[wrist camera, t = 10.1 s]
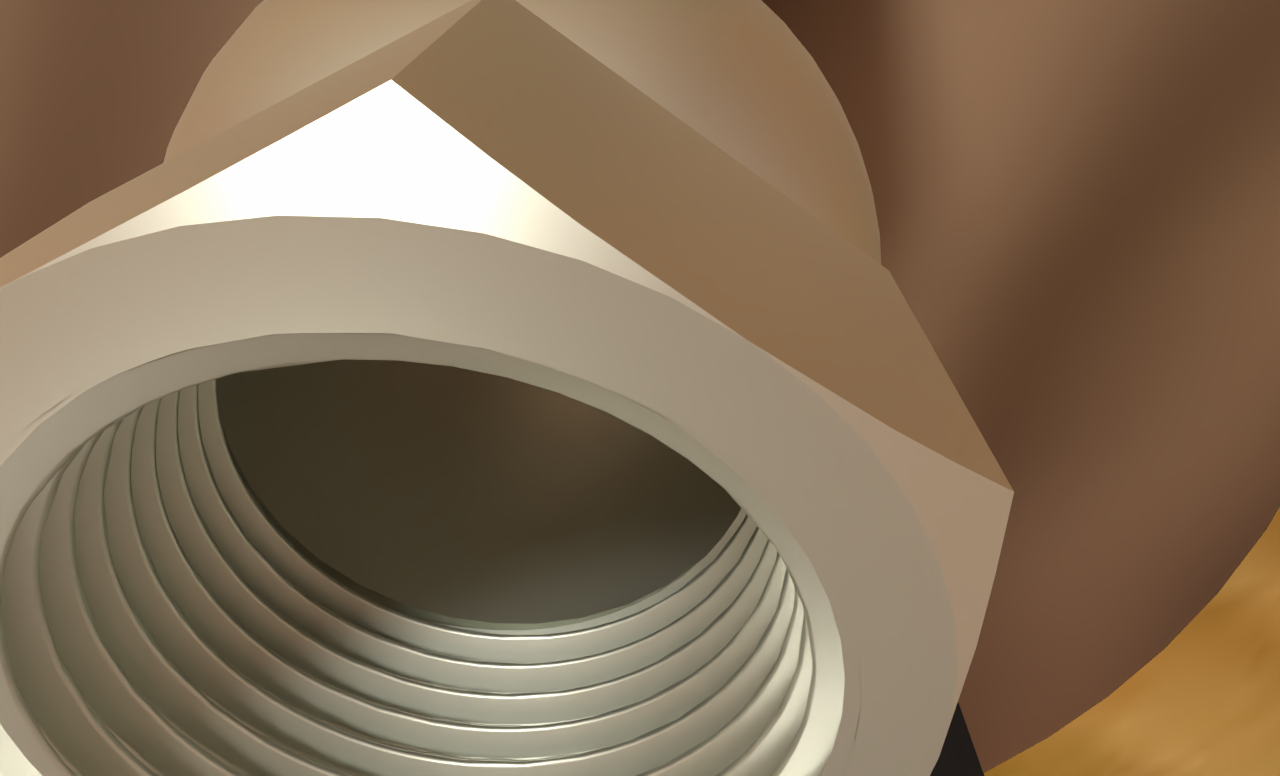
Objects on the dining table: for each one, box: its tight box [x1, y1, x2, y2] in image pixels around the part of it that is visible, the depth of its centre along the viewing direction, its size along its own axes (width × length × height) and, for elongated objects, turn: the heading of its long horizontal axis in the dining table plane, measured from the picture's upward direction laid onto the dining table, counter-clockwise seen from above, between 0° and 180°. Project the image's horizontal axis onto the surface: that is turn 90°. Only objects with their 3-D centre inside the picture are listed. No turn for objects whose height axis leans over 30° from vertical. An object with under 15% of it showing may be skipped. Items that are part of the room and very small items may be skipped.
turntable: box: [0, 0, 1280, 773], centre depth 12 cm, size 22×22×7 cm
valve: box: [0, 0, 1014, 776], centre depth 8 cm, size 7×7×12 cm
